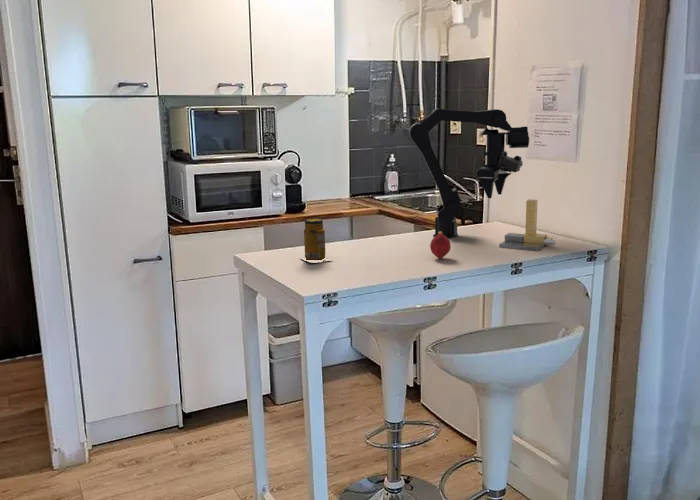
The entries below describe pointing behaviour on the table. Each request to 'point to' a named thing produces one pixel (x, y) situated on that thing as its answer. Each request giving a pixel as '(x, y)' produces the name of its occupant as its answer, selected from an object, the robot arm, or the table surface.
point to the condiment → (314, 239)
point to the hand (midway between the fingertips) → (494, 196)
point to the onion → (440, 245)
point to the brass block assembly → (533, 225)
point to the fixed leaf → (517, 242)
